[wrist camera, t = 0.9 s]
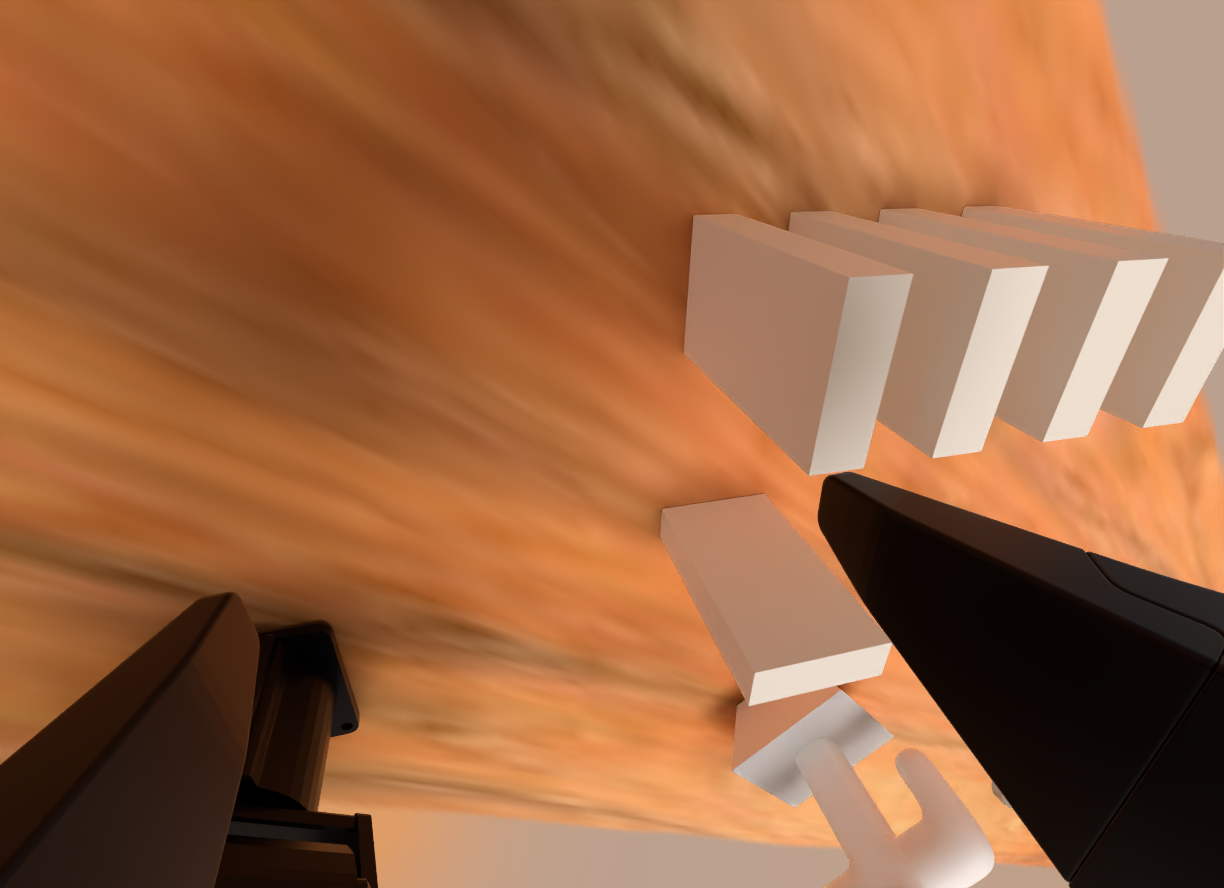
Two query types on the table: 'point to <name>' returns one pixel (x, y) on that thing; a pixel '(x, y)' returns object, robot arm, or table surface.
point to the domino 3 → (942, 328)
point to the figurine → (859, 791)
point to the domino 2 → (770, 600)
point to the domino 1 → (794, 335)
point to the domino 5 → (1151, 314)
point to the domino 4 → (1058, 318)
